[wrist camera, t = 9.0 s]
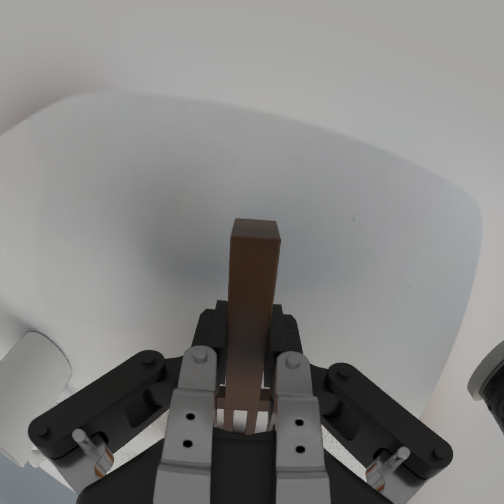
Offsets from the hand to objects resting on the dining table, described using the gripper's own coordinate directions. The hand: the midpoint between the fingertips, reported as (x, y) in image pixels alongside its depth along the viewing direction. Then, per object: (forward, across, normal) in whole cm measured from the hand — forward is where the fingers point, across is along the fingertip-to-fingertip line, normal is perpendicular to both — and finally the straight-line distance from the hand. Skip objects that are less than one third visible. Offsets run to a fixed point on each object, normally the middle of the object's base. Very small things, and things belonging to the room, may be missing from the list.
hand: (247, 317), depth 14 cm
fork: (0, 0, +3) cm, 3 cm away
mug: (+3, +19, +12) cm, 23 cm away
